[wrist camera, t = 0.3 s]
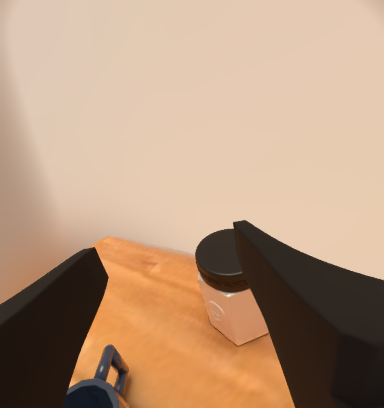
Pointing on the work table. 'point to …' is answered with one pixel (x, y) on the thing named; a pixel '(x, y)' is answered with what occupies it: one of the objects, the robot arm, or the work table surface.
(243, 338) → the jar
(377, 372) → the robot arm
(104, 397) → the mug
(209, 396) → the work table surface
